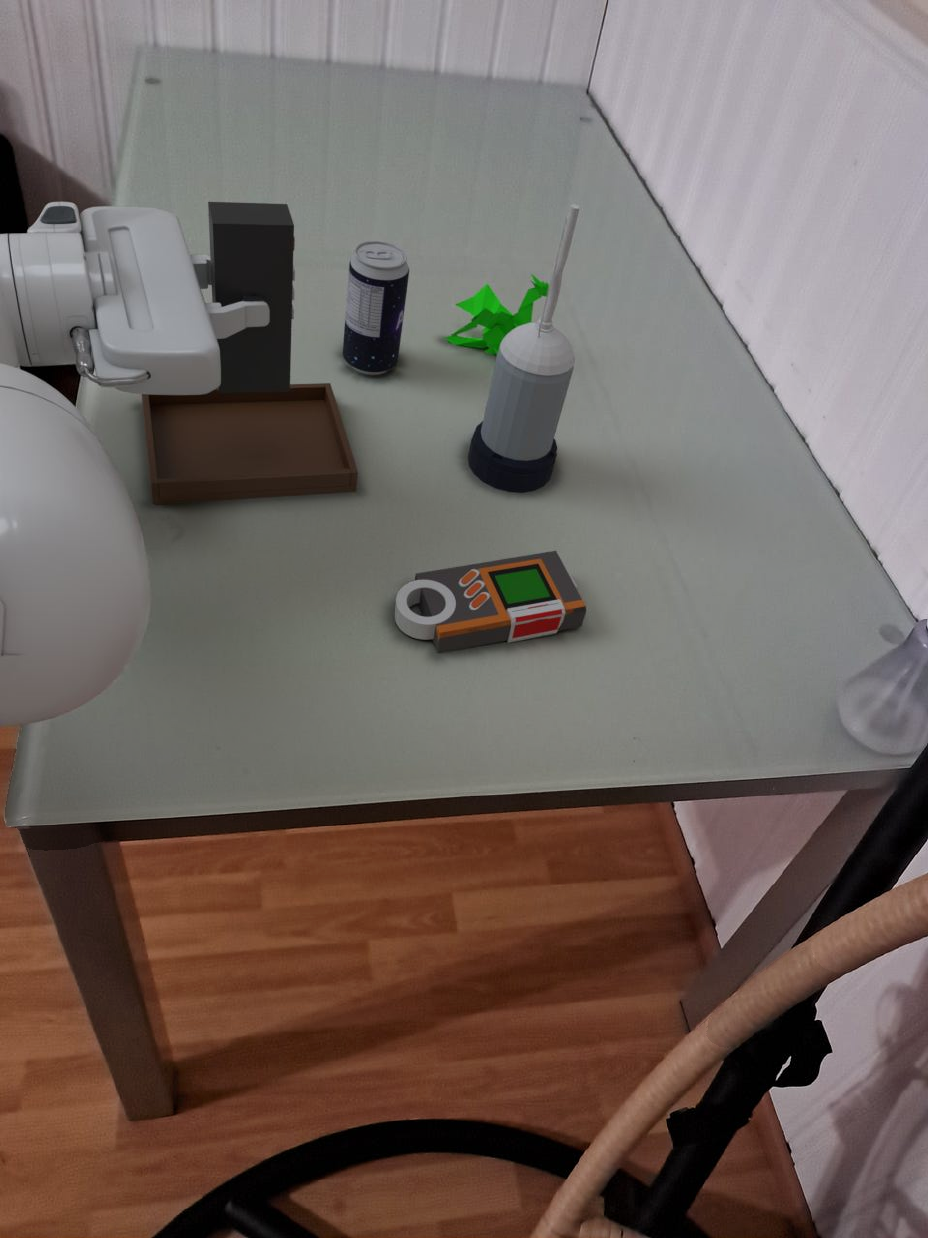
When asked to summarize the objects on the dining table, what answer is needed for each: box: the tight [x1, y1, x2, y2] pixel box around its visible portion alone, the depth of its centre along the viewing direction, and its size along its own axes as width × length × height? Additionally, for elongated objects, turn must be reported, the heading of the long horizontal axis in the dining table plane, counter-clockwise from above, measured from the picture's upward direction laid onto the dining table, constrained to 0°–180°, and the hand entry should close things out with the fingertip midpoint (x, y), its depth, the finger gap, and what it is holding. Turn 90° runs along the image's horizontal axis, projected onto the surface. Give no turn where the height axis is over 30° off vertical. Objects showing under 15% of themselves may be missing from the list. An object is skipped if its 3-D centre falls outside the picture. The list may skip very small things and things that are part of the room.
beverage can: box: [342, 240, 410, 376], centre depth 94 cm, size 6×6×12 cm
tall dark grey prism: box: [207, 201, 296, 393], centre depth 72 cm, size 3×6×14 cm, turn 105°
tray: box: [141, 382, 359, 505], centre depth 85 cm, size 17×13×2 cm
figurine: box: [444, 273, 550, 356], centre depth 100 cm, size 6×12×9 cm, turn 86°
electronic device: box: [394, 550, 587, 654], centre depth 76 cm, size 7×3×15 cm
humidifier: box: [467, 203, 581, 494], centre depth 81 cm, size 8×8×25 cm
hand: (261, 293), depth 72 cm, fingers closed on tall dark grey prism, 3 cm apart
